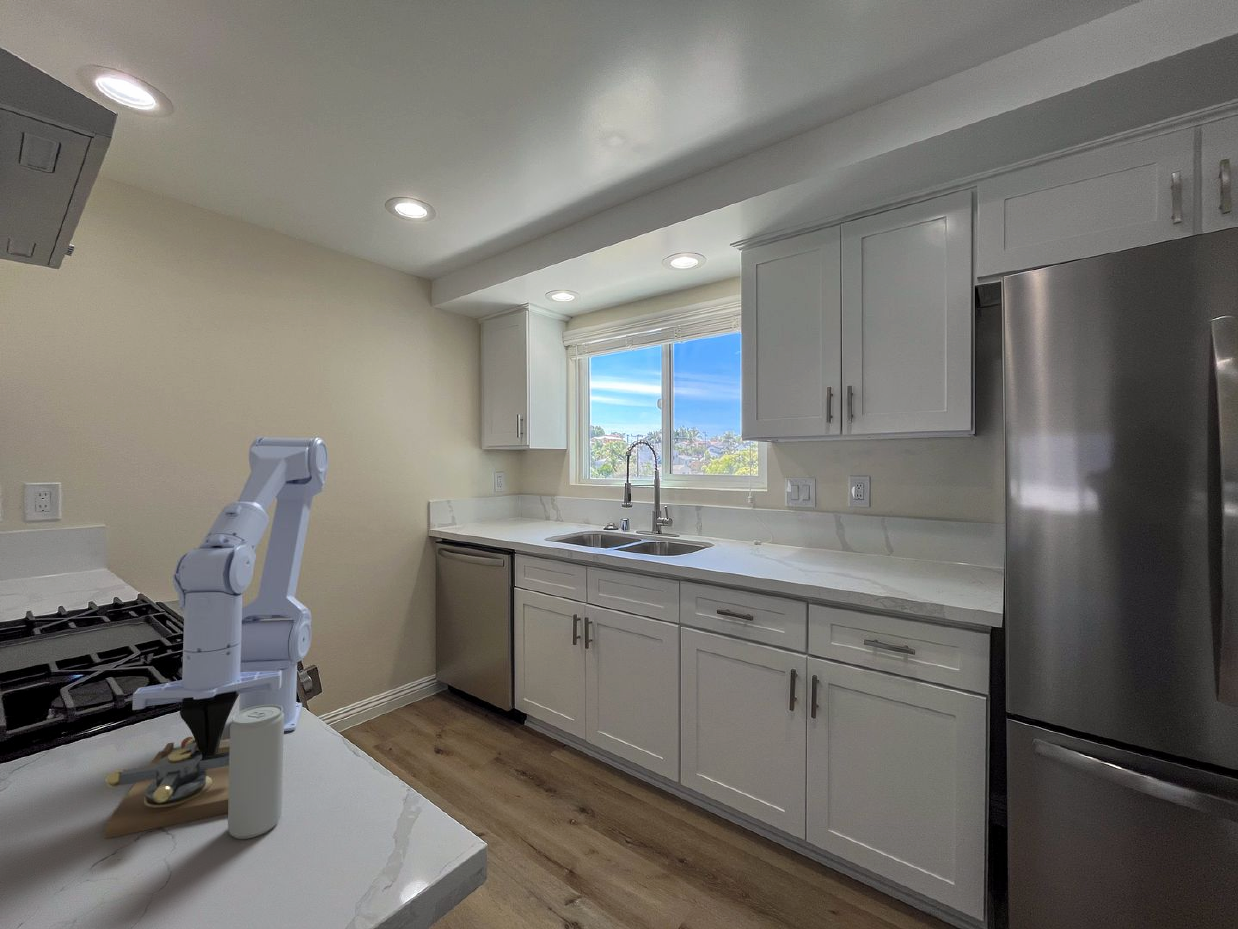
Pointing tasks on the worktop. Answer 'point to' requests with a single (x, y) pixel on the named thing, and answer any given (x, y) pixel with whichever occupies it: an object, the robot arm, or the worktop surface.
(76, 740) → the worktop surface
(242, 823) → the beverage can
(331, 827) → the worktop surface
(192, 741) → the capstan
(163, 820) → the valve wheel board
